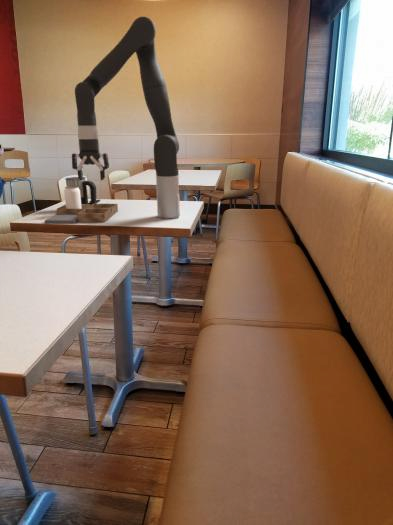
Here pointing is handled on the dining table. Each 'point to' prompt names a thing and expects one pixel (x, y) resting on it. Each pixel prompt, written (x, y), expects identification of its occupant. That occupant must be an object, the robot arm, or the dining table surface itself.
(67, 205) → the can
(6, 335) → the dining table surface
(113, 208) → the frame
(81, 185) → the milk frother
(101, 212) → the frame
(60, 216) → the mat
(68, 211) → the frame
